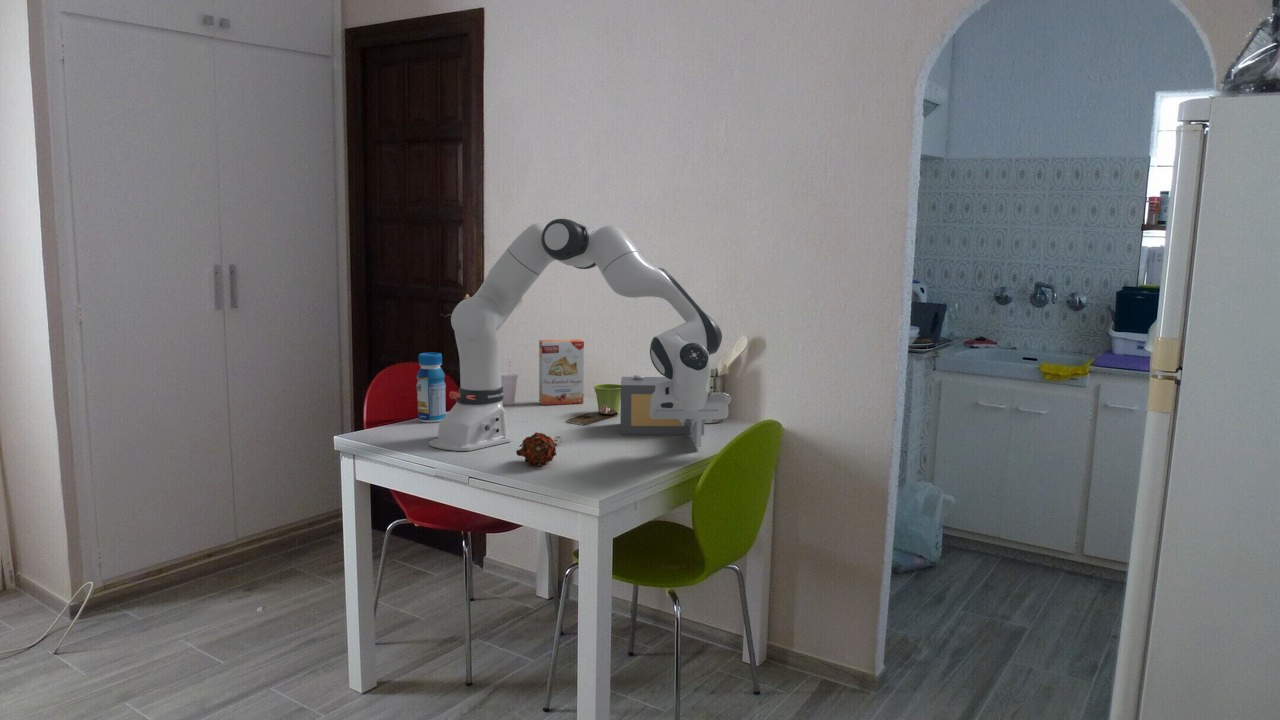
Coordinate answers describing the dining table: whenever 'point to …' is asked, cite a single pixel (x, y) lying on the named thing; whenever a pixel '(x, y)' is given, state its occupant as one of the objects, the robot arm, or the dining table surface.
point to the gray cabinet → (644, 409)
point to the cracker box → (561, 371)
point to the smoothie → (509, 386)
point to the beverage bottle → (431, 388)
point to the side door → (697, 431)
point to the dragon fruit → (537, 449)
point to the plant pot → (608, 396)
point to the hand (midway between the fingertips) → (687, 424)
